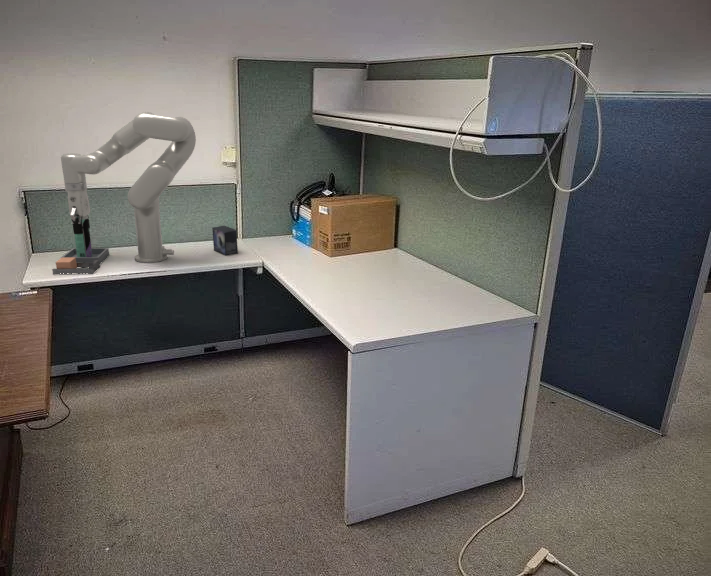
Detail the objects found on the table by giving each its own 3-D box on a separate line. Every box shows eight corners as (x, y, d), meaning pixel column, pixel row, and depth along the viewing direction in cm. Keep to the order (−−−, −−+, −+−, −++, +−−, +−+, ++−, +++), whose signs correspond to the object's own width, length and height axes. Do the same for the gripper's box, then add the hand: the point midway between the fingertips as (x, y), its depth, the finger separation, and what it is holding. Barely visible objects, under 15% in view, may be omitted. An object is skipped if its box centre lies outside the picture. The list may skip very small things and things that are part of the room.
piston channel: (100, 266, 214) (99, 259, 213) (93, 274, 206) (92, 266, 205) (61, 267, 212) (60, 259, 211) (53, 274, 204) (51, 266, 203)
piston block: (77, 267, 212) (75, 257, 210) (71, 272, 206) (69, 262, 204) (63, 267, 211) (61, 257, 210) (57, 272, 205) (55, 262, 204)
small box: (212, 250, 240) (211, 227, 237) (225, 248, 244) (224, 225, 241) (225, 256, 233) (223, 231, 229) (238, 253, 237) (237, 229, 234)
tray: (109, 254, 229) (108, 248, 228) (99, 264, 216) (98, 257, 215) (73, 255, 227) (72, 248, 226) (61, 265, 214) (60, 257, 213)
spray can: (94, 259, 221) (88, 209, 215) (79, 261, 218) (73, 211, 211) (90, 255, 225) (84, 207, 219) (75, 257, 222) (69, 208, 215)
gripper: (78, 190, 204) (85, 236, 210) (93, 183, 221) (98, 226, 227) (57, 190, 203) (64, 236, 209) (73, 183, 220) (79, 226, 225)
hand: (82, 230), depth 218 cm, fingers open, 8 cm apart
